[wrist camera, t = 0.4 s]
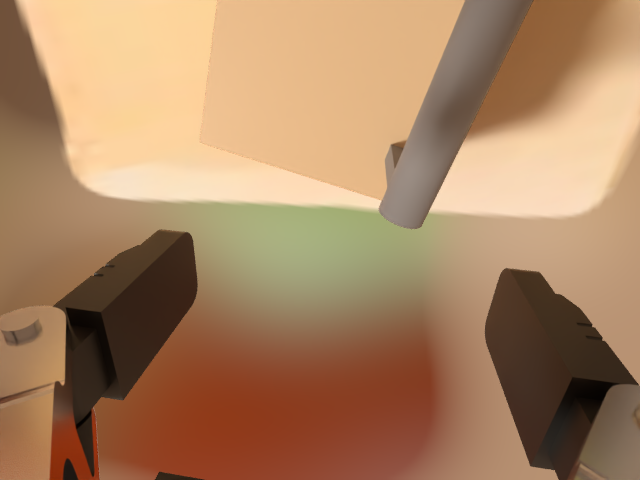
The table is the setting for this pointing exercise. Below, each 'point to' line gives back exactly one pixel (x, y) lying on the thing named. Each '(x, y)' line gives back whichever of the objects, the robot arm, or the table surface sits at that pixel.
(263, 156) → the carton flap
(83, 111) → the table surface
